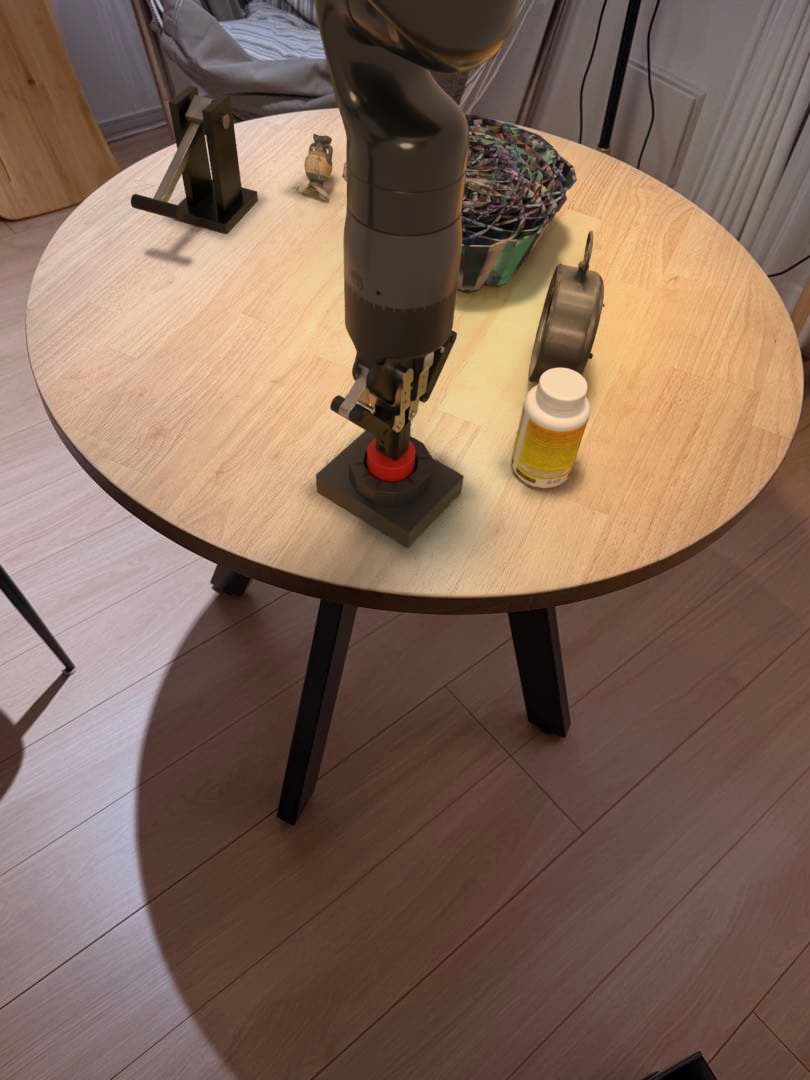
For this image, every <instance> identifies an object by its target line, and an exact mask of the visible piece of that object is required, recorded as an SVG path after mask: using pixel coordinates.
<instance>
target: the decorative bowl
mask: <svg viewBox="0 0 810 1080" xmlns="http://www.w3.org/2000/svg"><path fill="white" fill-rule="evenodd" d="M464 115H465V117H466V119H467V122H468V127H469V147H468V160H467V170H466V179H465V188H464V197H463V206H462V250H461V259H460V268H459V276H458V285H457V292H460V293H463V294H470V293H474V292H478V291H480V290H481V289H482V288H483V287H484V286H487V287H494V288H495V287H501V286H503V285H505V284H507V282H508V281H509V279H510V278H511V277H512V276H513V275H515V274H517V272H518V270H519V269H520V267H521V266H522V264H523V263H525V262H526V261H527V259H528V257H529V256H530V254H531V253H532V251H533V249H534V248H535V246H536V245H537V243H538V241H539V240H540V238H541V237H542V235H543V234H544V232H545V230H546V229H547V228H548V226H549V224H550V223H552V222H553V221H554V219H555V216H556V214H557V213H559V212H560V211H561V209H562V208H563V206H564V204H566V203H567V200H568V197H567V191H569V190H571V189H572V187H573V186H574V185H575V183H576V182H577V181H578V179H577V174H576V169H575V166H574V165H573V164H571V163H570V162H569V161H568V160H567V159H566V158H564V157H563V156H562V155H561V154H559V152H558V150H557V149H556V148H554V146H553V145H552V144H551V143H550V142H548V141H547V140H546V139H544V137H542V136H541V135H539V134H537V133H535V132H533V131H530V130H527V129H524V128H520V127H518V126H517V125H515V124H514V123H513V124H512V123H508V122H504V121H500V120H496V119H493V118H490V117H485V116H482V115H479V114H471V113H470V114H467V113H464ZM341 178H343V180H344V181H345V182H346V183H347V175H346V161H345V162H344V163H343V169H342V176H341Z"/></svg>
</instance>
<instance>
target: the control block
mask: <svg viewBox="0 0 810 1080" xmlns="http://www.w3.org/2000/svg"><path fill="white" fill-rule="evenodd" d="M374 438H376V436H375V435H373V434H372V433H370V432H368V431H366V430H365V429H364V431H363V432H362V433H361V434H360V435H358V437H356V438H355V439H354V440H353V441H352V442H350V444H348V446H346V447H345V448H344V449H343V450H342V451H341V452H340V453H339V454H337V455H336V456H335V457H333V459H332V460H331V461H330V462H328V463H327V464H326V465H325V466H324V467H322V469H320V470H319V472H317V473H316V474H315V483H316V485H315V486H316V492H317V493H319V494H321V495H322V496H324V497H326V499H329V500H330V501H331V502H334V503H335V504H336V505H338V506H340V507H341V508H343V509H345V510H346V511H348V512H349V513H351V514H352V515H354V516H355V517H357V518H359V519H361V520H362V521H364V522H365V523H366V524H368V525H369V526H371V527H373V528H374V529H376V530H378V531H379V532H381V533H382V534H384V535H385V536H387V537H389V538H390V539H392V540H393V541H395V542H397V543H398V544H400V545H401V546H403V547H405V549H409V548H410V547H411V546H412V545H413V543H414V542H415V541H417V539H419V537H420V536H421V535H422V534H423V533H424V532H425V531H426V530H427V529H428V528H429V527H430V526H431V525H432V523H434V522H435V520H436V519H438V517H440V515H442V513H443V512H444V511H445V510H446V508H448V507H449V506H450V504H451V503H453V502H454V500H455V499H456V498H457V497H458V496H459V495H460V494H461V493H462V489H463V482H464V477H465V476H464V475H463V474H461V473H460V472H458V471H456V470H454V469H453V468H451V467H449V466H448V465H446V464H444V463H443V462H441V461H439V460H437V459H436V458H434V457H432V455H431V453H430V452H429V450H428V448H427V446H426V445H425V444H424V443H423V442H422V441H420V440H418V439H417V438H415V437H413V436H412V435H410V438H409V440H410V441H411V442H412V444H413V445H414V447H415V464H414V470H413V472H412V473H411V474H410V476H408V477H407V478H406V479H404V480H401V481H397V482H388V481H381V480H379V479H377V478H375V477H374V476H373V475H372V474H371V473H370V471H369V470H368V467H367V449H368V446H369V444H370V442H371V441H372V440H373V439H374Z"/></svg>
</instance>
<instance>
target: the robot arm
mask: <svg viewBox="0 0 810 1080" xmlns="http://www.w3.org/2000/svg"><path fill="white" fill-rule="evenodd" d="M521 2H522V0H313V4H314V10H315V16H316V21H317V26H318V31H319V34H320V35H319V36H320V39H321V44H322V48H323V51H324V56H325V59H326V64H327V68H328V73H329V77H330V81H331V85H332V90H333V93H334V97H335V101H336V104H337V108H338V110H339V114H340V117H341V120H342V124H343V127H344V132H345V136H346V144H345V145H346V148H345V150H346V152H345V153H346V156H345V157H346V161H345V162H346V175H347V182H346V212H345V220H344V227H343V241H342V242H343V243H342V244H343V291H344V292H343V294H344V295H343V297H344V298H343V299H344V326H345V329H346V332H347V335H348V336H349V338H350V340H351V342H352V344H353V346H354V349H355V351H356V353H355V354H356V355H355V358H354V362H353V365H352V367H351V368H352V369H351V374H352V379H353V380H354V382H353V384H352V386H351V388H350V390H349V392H348V393H347V394H346V395H345V397H343V396H342V395H341V394H338V395H335V397H333V399H332V400H331V402H330V405H329V409H330V411H332V412H333V413H335V414H337V415H338V416H341V417H342V418H344V419H346V420H348V421H349V422H350V423H352V424H354V425H355V426H357V427H359V428H361V429H363V430H364V431H365V430H366V431H368V432H370V433H372V434H373V435H375V436H376V450H377V451H378V452H379V453H381V454H383V455H384V456H386V457H388V458H390V459H392V460H394V461H397V460H398V459H399V458H400V457H401V456H402V455H403V454H405V453H406V452H407V451H408V449H409V438H410V436H411V430H412V429H411V427H412V421H413V420H414V419H415V418H416V416H417V414H418V411H419V403H420V402H421V403H423V404H426V403H427V402H428V401H429V400H430V397H431V395H432V393H433V391H434V390H435V389H434V388H435V387H436V384H437V382H438V380H439V378H440V375H441V374H442V371H443V369H444V367H445V365H446V363H447V360H448V358H449V356H450V354H451V351H452V349H453V347H454V345H455V343H456V340H457V338H458V337H457V336H458V333H457V331H455V330H453V328H454V318H455V312H456V311H455V310H456V303H457V302H456V300H457V294H458V290H457V285H458V276H459V268H460V259H461V250H462V206H463V197H464V188H465V179H466V170H467V160H468V147H469V127H468V122H467V119H466V117H465V115H464V114H465V113H464V111H463V110H462V108H461V107H460V106H459V104H458V103H457V102H456V101H455V100H454V99H453V98H452V96H450V95H449V94H448V93H447V92H446V91H445V90H444V89H443V88H442V87H441V86H440V85H439V84H438V82H437V81H436V80H435V79H434V76H433V75H432V73H431V72H434V73H437V74H443V75H444V74H445V75H458V74H463V73H466V72H469V71H472V70H474V69H477V68H478V67H481V66H482V65H484V64H485V63H486V62H489V60H491V58H493V57H494V56H495V55H496V54H497V52H498V51H499V50H500V49H501V48H502V47H503V45H504V43H505V42H506V41H507V40H508V38H509V36H510V34H511V32H512V30H513V28H514V26H515V24H516V22H517V18H518V15H519V12H520V6H521Z"/></svg>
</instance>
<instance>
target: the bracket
mask: <svg viewBox="0 0 810 1080" xmlns="http://www.w3.org/2000/svg"><path fill="white" fill-rule="evenodd" d="M195 95H197V96H200V95H199V88H198V86H193V85H188V86H187V87H186V88H184V89H183V90H182V91H181V92H179V93H178V94H177V95H175V96H174V97H173V98H171V99H170V100H169V101H168V106H169V112H170V117H171V123H172V128H173V134H174V140H175V144H176V150H177V149H178V147H179V145H180V143H181V141H182V139H183V137H184V135H185V133H186V131H187V129H188V127H189V124H188V121H187V119H186V117H185V114H186V112H187V110H188V108H189V106H190V104H191V102H192V100H193V98H194V96H195ZM202 113H203V120H204V126H205V133H206V135H203V134H201V136H200V138H199V140H198V142H197V144H196V146H195V148H194V150H193V152H192V154H191V156H190V158H189V160H188V162H187V164H186V166H185V168H184V170H183V172H182V175H181V177H182V182H183V183H182V184H183V188H184V194H185V197H184V198H183V199H181V201H180V202H179V203H178V204H177V205H179V206H182V207H183V210H184V214H183V218H182V219H181V220H176V219H173V220H174V221H178V222H182V223H185V224H189V225H193V226H197V227H201V228H204V229H208V230H211V231H215V232H219V233H222V234H225V235H227V234H228V233H229V232H230V231H231V230H232V228H234V226H236V224H238V222H239V221H240V220H241V219H242V218H243V217H244V216H245V215H246V214H247V213H248V212H249V211H250V210H251V208H252V207H253V206H254V205H255V204H256V203H257V202H258V201H259V197H258V191H257V190H253V189H250V188H246V187H243V186H242V180H241V179H242V178H241V170H240V164H239V163H240V162H239V155H238V146H237V140H236V130H235V122H234V114H233V113H234V112H233V106H232V99H231V94H228V93H223V92H221V94H220V95H218V96H217V97H216V98H215V99H213V101H212V102H211V103H210V104H209V105H208V106H207V107H205V108H204V109H203V110H202Z"/></svg>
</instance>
